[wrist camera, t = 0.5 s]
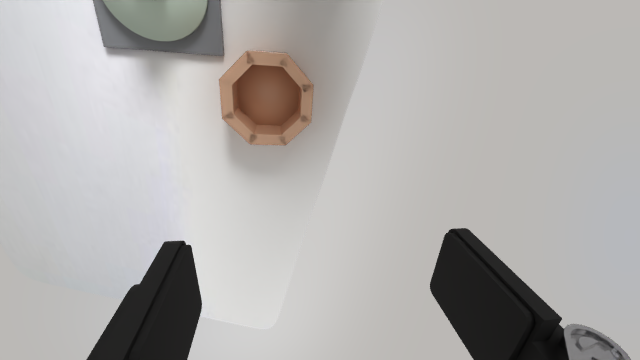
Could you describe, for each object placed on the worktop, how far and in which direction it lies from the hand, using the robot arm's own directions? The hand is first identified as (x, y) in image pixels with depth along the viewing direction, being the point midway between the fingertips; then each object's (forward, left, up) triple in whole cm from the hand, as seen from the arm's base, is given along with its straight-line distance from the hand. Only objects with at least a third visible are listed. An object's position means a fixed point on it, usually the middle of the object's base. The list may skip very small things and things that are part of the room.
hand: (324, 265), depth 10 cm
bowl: (-2, -3, -28) cm, 28 cm away
